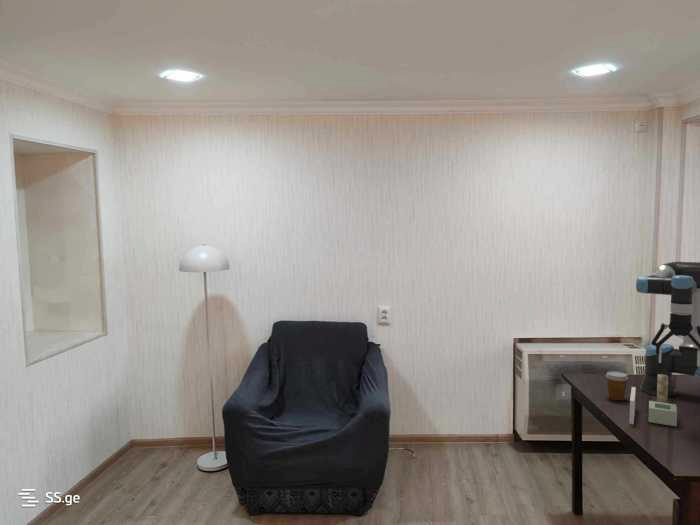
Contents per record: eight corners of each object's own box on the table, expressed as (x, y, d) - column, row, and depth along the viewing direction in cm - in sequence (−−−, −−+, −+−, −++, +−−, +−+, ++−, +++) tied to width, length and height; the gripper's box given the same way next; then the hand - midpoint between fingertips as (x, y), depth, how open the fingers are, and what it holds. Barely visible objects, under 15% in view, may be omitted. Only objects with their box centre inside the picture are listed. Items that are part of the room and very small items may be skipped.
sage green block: (675, 418, 223) (676, 404, 223) (676, 426, 215) (677, 412, 214) (648, 414, 228) (649, 400, 228) (648, 422, 220) (649, 408, 219)
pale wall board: (635, 408, 235) (635, 387, 235) (633, 424, 218) (634, 401, 217) (631, 408, 236) (631, 386, 235) (629, 423, 219) (630, 400, 218)
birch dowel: (662, 408, 235) (663, 374, 234) (669, 412, 231) (670, 376, 230) (654, 409, 235) (655, 374, 233) (660, 412, 231) (662, 377, 229)
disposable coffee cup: (625, 396, 252) (626, 371, 251) (629, 402, 243) (630, 377, 242) (604, 394, 255) (604, 370, 254) (606, 400, 246) (607, 375, 245)
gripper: (716, 313, 213) (713, 365, 214) (645, 309, 224) (644, 358, 226) (719, 317, 206) (716, 369, 208) (646, 312, 217) (644, 362, 219)
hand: (678, 364), depth 217 cm, fingers open, 13 cm apart
